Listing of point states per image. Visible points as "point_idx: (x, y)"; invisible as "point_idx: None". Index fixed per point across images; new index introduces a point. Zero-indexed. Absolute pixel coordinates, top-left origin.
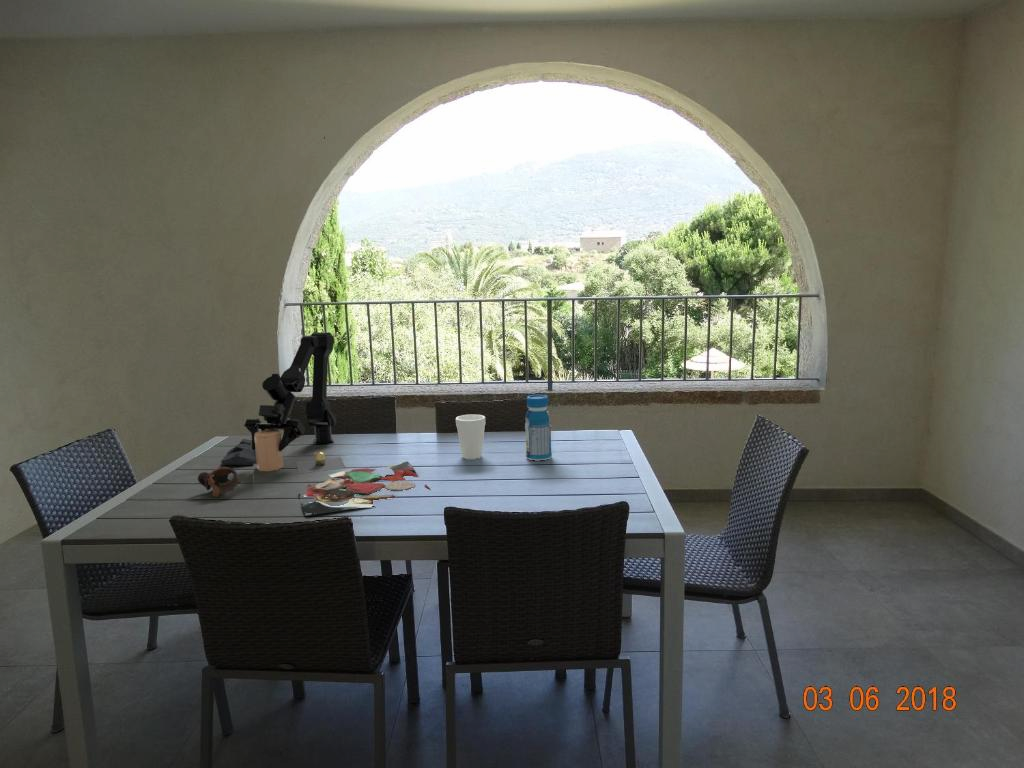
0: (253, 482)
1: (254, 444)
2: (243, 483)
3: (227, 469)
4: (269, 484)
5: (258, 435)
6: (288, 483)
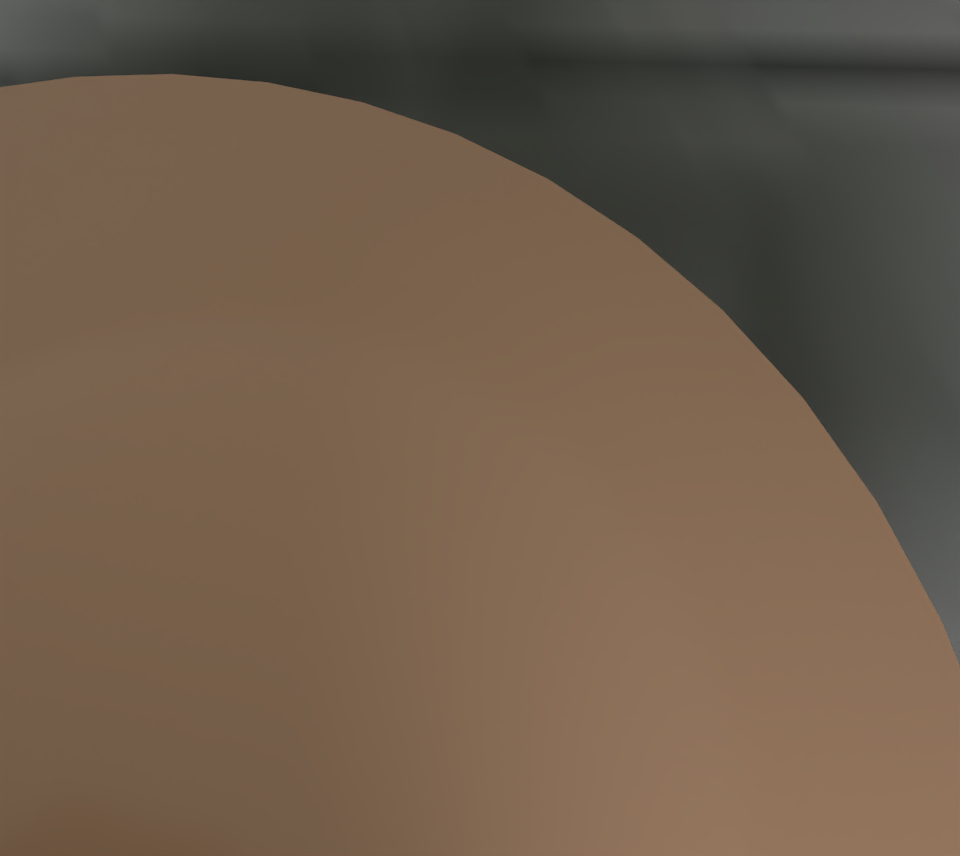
0: (467, 90)
1: None
2: (589, 57)
3: None
4: (231, 15)
5: (422, 139)
6: (6, 44)
